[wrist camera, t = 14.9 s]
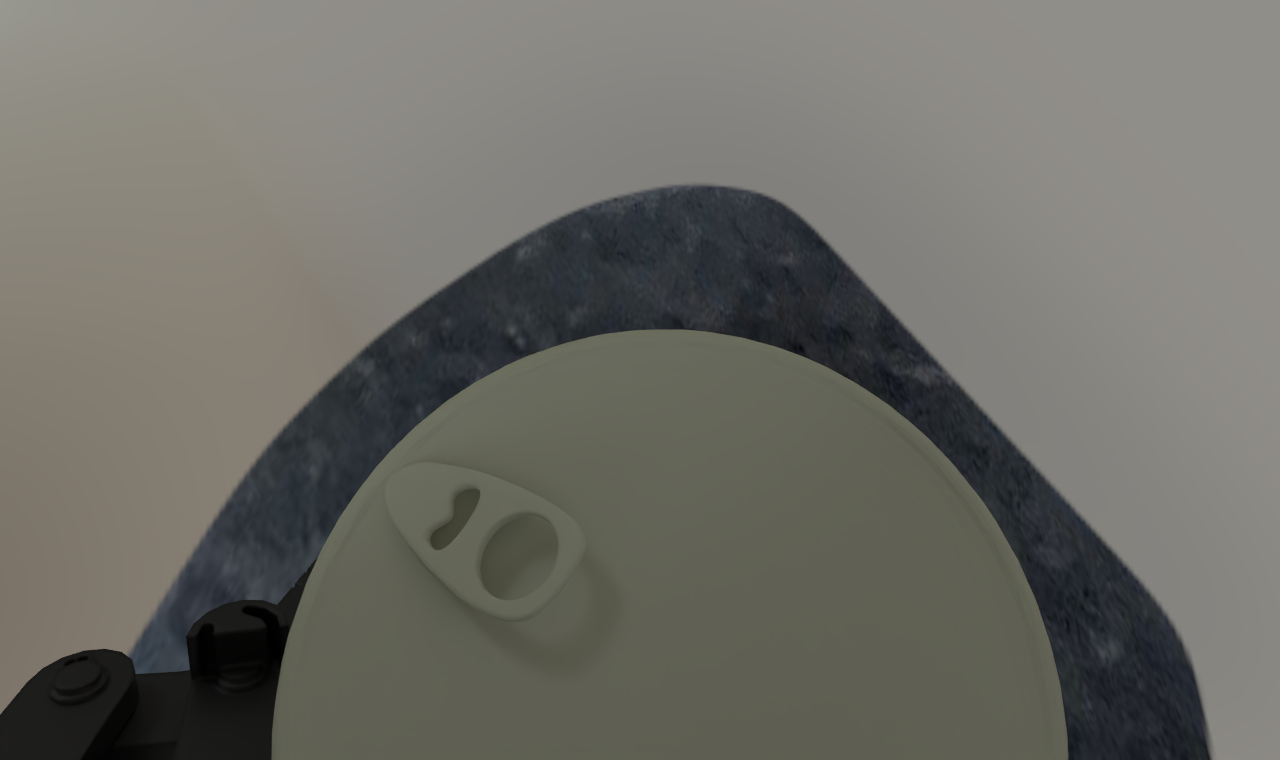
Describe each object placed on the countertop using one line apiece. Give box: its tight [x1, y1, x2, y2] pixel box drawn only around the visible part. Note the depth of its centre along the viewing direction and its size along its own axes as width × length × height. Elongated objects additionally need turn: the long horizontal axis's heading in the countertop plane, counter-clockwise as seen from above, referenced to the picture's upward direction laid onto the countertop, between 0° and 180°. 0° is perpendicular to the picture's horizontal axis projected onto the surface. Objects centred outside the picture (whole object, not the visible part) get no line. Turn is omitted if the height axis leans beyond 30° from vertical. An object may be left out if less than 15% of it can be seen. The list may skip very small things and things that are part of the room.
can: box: [272, 330, 1068, 760], centre depth 14 cm, size 9×9×12 cm
